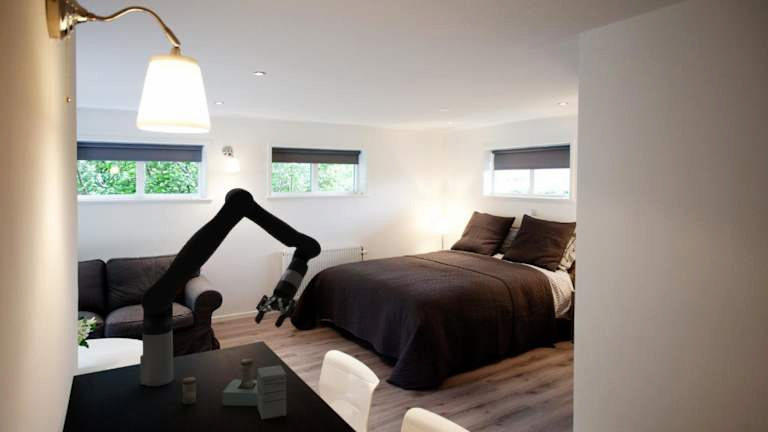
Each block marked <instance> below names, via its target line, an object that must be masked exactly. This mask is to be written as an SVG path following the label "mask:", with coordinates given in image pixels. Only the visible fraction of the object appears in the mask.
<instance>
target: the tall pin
mask: <svg viewBox="0 0 768 432" xmlns="http://www.w3.org/2000/svg"><path fill="white" fill-rule="evenodd" d="M240 379H241V389H253V380H254V359H252V358H244V359H241V360H240Z"/></svg>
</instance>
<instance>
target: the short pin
mask: <svg viewBox="0 0 768 432" xmlns="http://www.w3.org/2000/svg"><path fill="white" fill-rule="evenodd" d="M196 379H197V378H196V377H192V376H191V377H185V378H183V379H182V403H183V404H184V405H191V404H195V402H196V401H197V399H196V398H197V396H196V395H197V392H196V391H197V389H196V387H197V386H196Z"/></svg>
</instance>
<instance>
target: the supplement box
mask: <svg viewBox="0 0 768 432" xmlns="http://www.w3.org/2000/svg"><path fill="white" fill-rule="evenodd" d="M256 370H257V376H256V377H257V379H256V380H257V406H256V407H257V410H258V412H259V415H260V419H261V420H267V419H273V418H279V417H284V416H287V373H286V371H285V370H284V368H283V366H282V365H280V364H279V365H271V366H264V367H259V368H257V369H256Z"/></svg>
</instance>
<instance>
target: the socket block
mask: <svg viewBox="0 0 768 432" xmlns="http://www.w3.org/2000/svg"><path fill="white" fill-rule="evenodd" d="M222 406H243V407H246V406H247V407H248V406H251V407H257V379H253V389H241V378H240V379H237V378H236V379H234V378H233V379H232V380H231V382H230V383H229V384H228V385H227V386H226V387H225V388H224V390H223V391H222Z"/></svg>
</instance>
